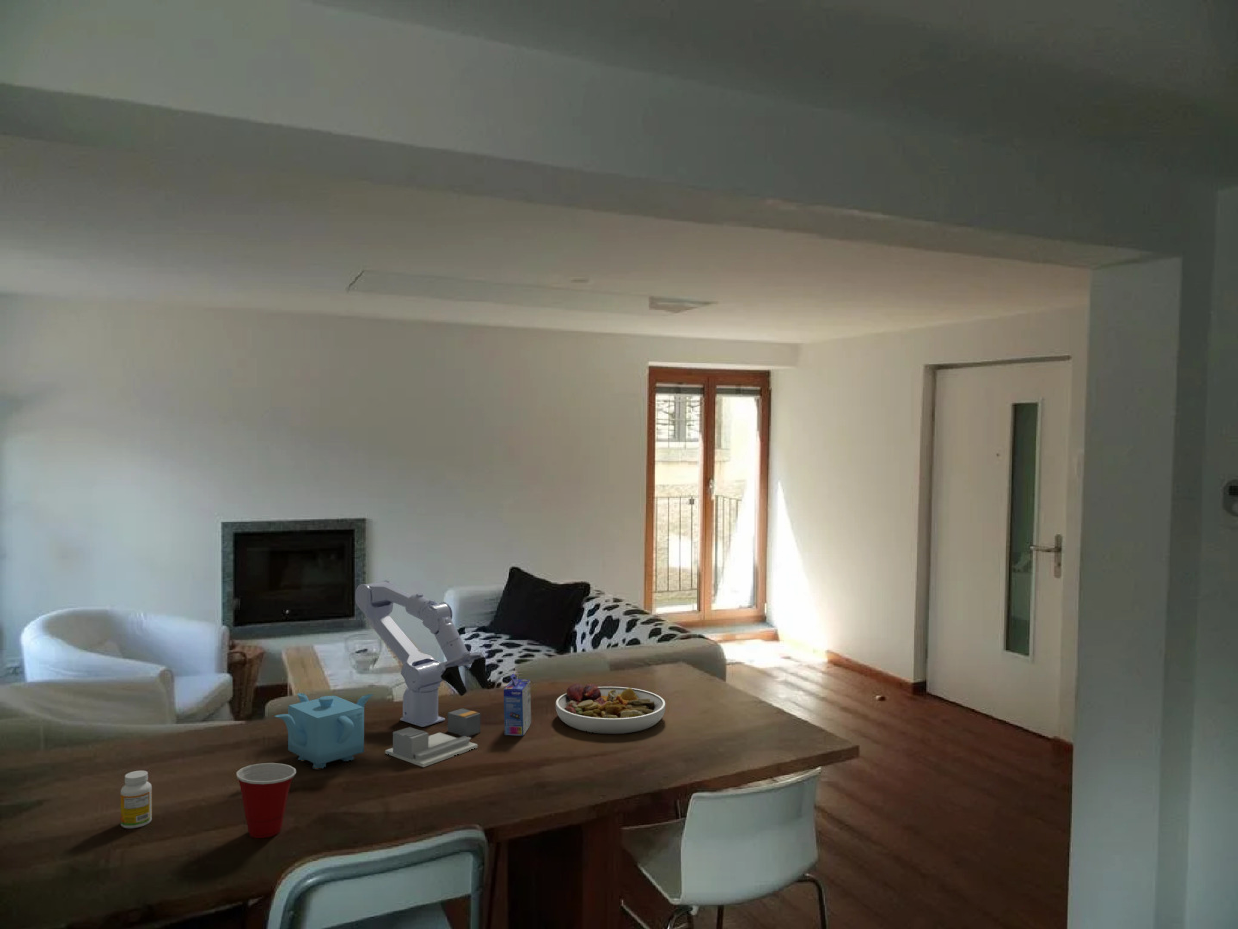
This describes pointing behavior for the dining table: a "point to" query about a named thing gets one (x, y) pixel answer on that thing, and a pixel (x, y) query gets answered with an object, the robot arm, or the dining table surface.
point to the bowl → (609, 709)
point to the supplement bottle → (136, 800)
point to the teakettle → (325, 728)
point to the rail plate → (439, 756)
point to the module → (464, 722)
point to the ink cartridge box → (517, 706)
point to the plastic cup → (265, 796)
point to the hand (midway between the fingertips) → (475, 690)
